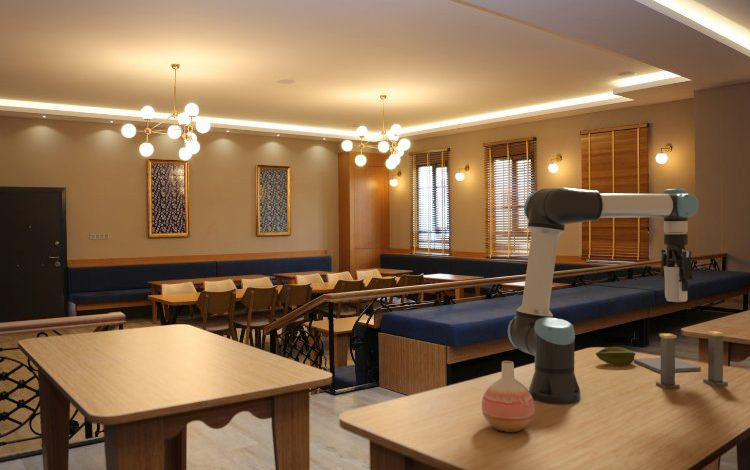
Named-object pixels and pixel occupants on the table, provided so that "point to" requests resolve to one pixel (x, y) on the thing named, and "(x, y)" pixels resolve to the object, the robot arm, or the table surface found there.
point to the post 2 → (715, 359)
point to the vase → (508, 402)
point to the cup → (672, 283)
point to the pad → (656, 365)
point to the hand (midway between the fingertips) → (675, 298)
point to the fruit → (616, 356)
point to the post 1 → (668, 362)
